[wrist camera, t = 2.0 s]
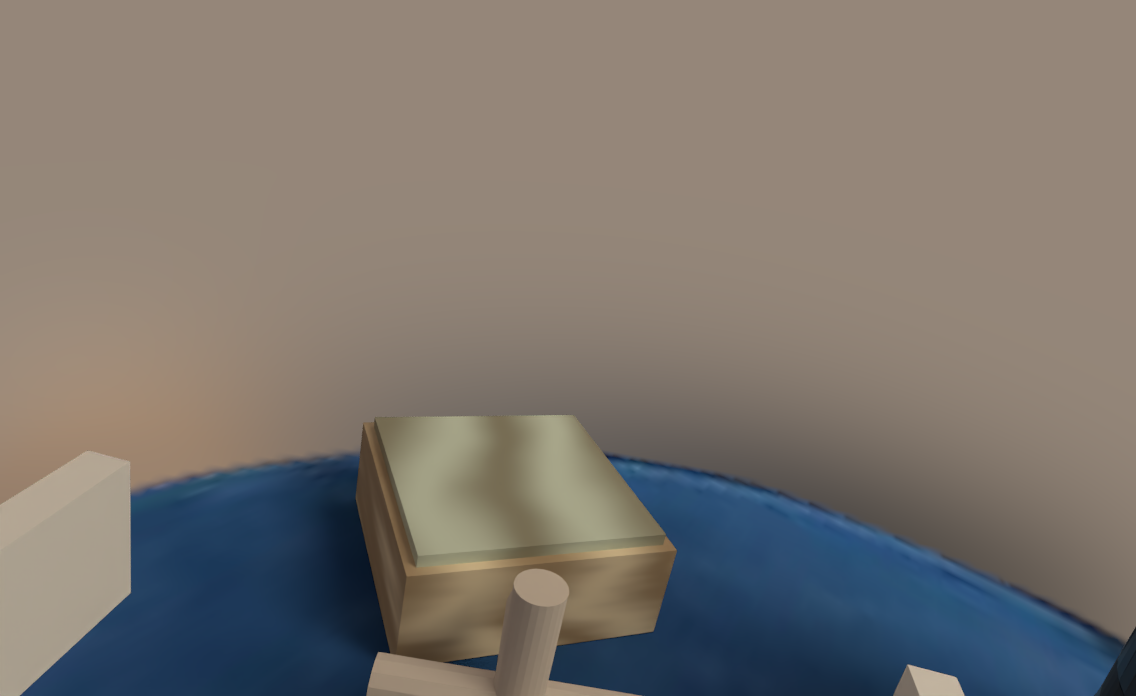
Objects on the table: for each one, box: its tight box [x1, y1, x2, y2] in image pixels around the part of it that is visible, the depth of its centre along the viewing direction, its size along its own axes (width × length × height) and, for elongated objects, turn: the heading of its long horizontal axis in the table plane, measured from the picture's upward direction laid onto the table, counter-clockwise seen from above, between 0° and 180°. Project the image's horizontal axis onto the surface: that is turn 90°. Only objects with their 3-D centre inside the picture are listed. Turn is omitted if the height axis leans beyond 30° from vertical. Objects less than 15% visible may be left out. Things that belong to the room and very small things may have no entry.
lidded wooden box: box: [356, 415, 677, 662], centre depth 40 cm, size 13×13×6 cm
